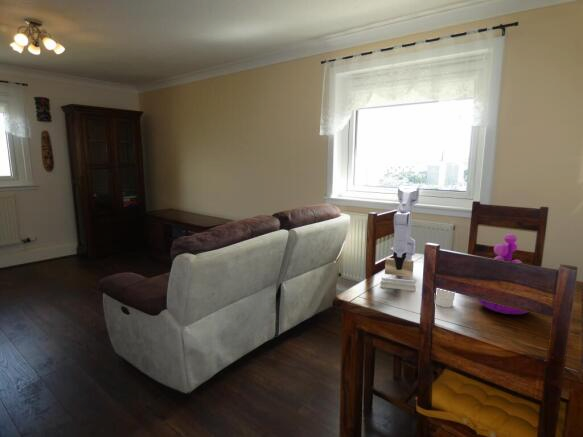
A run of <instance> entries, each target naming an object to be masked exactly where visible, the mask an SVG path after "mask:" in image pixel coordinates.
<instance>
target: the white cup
mask: <svg viewBox="0 0 583 437" xmlns="http://www.w3.org/2000/svg"><path fill="white" fill-rule="evenodd" d="M455 296H456V292H455V293H452V292H448V291H444V290H440V289H437V295H436V304H435V305H436V306H438V307H442V308H452V307H453V306H454V300H455Z"/></svg>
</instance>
